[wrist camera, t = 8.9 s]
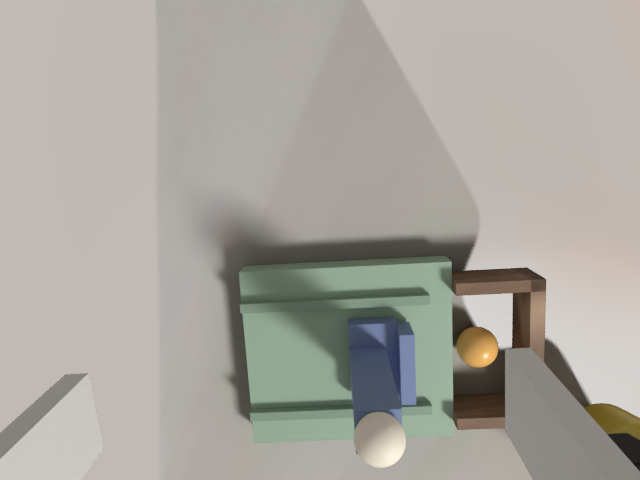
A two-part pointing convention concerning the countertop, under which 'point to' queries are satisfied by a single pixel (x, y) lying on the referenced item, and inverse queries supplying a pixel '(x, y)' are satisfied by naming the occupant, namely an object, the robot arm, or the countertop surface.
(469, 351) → the ball
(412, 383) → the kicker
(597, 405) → the plant pot
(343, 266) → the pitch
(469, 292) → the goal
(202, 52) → the countertop surface
